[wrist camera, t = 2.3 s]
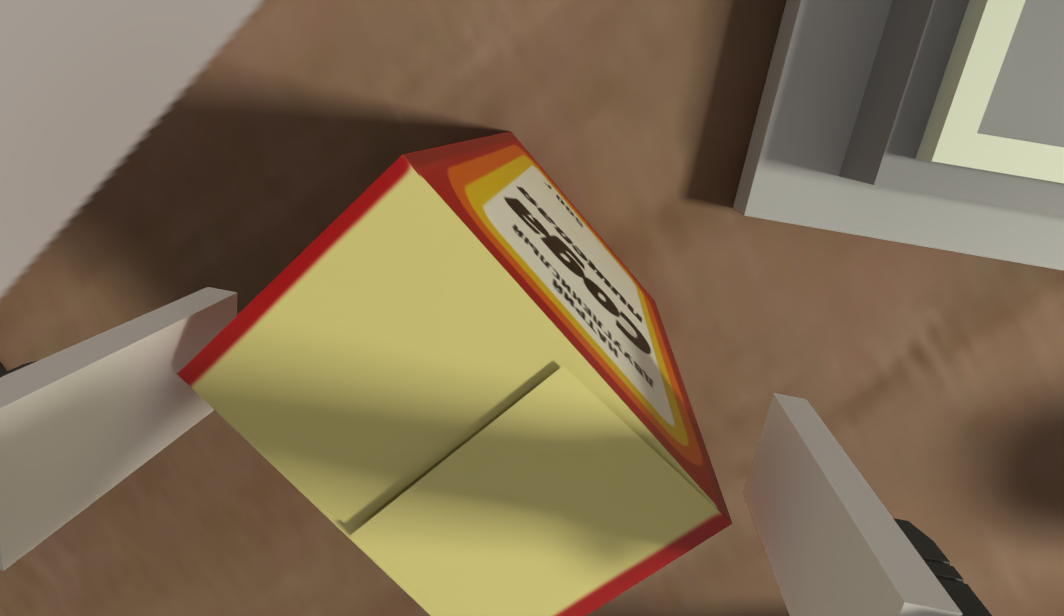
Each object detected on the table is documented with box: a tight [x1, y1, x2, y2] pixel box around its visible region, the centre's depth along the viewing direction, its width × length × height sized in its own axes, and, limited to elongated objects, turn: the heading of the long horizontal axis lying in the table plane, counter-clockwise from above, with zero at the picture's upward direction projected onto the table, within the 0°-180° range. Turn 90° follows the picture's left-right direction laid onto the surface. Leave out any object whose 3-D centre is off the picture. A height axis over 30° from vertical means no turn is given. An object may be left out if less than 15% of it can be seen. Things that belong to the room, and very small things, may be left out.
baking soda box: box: [177, 131, 732, 616], centre depth 20 cm, size 10×6×16 cm
